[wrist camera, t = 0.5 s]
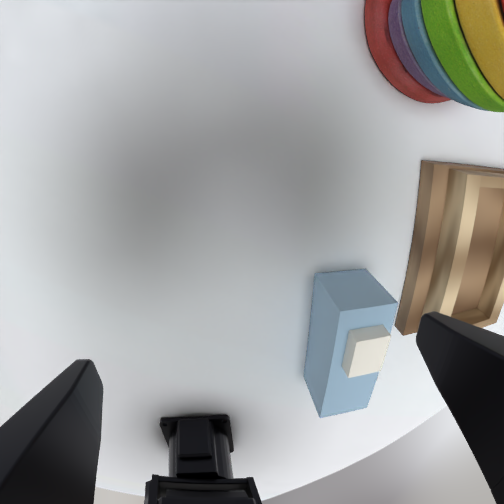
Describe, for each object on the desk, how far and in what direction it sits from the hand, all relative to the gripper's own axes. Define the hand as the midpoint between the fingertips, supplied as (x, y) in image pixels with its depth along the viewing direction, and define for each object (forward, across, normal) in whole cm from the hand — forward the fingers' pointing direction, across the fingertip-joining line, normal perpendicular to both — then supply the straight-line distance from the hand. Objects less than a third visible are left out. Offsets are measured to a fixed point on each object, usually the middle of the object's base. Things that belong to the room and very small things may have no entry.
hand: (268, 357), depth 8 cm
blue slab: (+14, -8, +10) cm, 18 cm away
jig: (+13, -20, +4) cm, 24 cm away
